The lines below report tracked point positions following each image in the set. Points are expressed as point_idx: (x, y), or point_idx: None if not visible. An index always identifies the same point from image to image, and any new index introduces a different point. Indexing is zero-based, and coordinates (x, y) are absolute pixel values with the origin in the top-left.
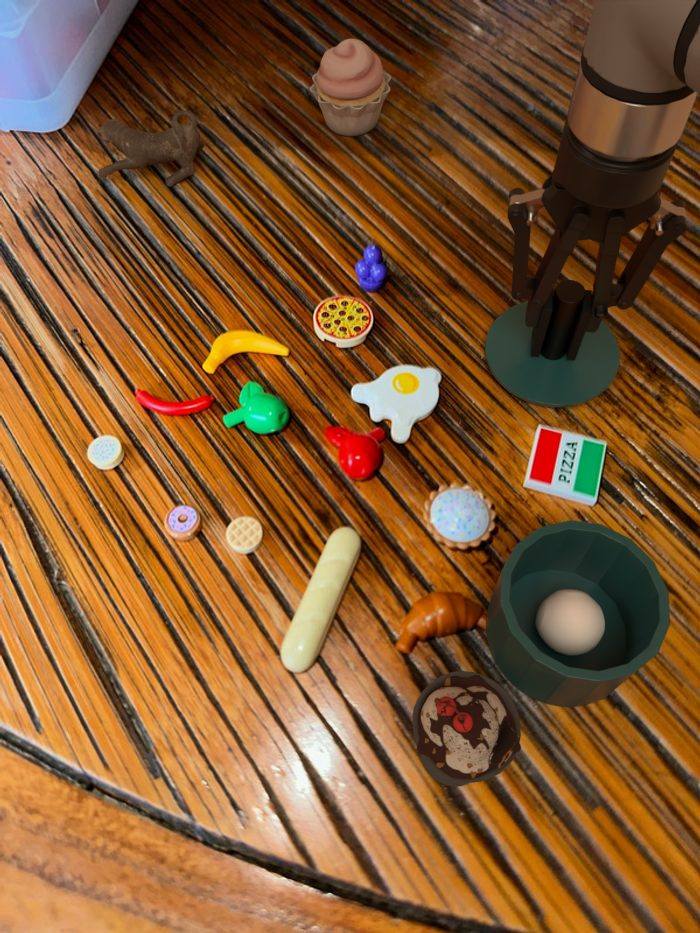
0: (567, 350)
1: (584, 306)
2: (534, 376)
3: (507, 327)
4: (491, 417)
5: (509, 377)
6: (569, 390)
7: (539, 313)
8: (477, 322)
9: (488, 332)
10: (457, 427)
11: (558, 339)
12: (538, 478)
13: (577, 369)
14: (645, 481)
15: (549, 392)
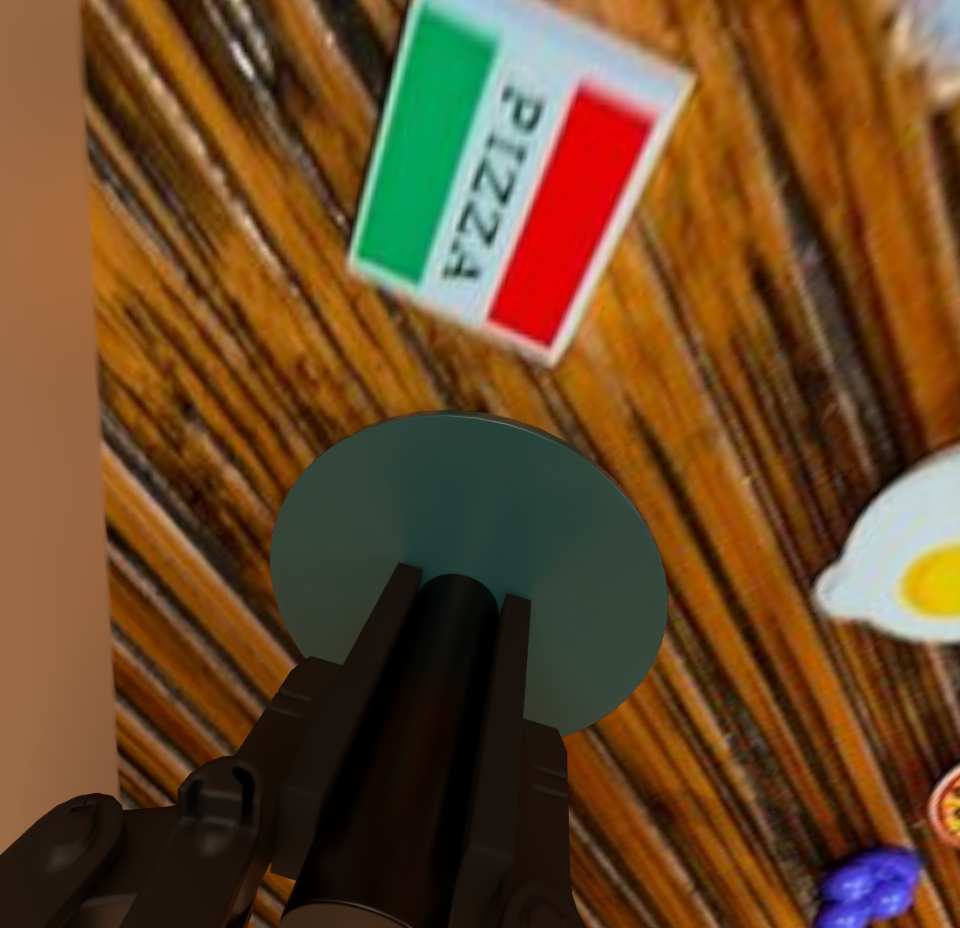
0: (415, 597)
1: (309, 823)
2: (534, 532)
3: (570, 693)
4: (706, 414)
5: (618, 542)
6: (433, 465)
7: (517, 804)
8: (635, 713)
9: (631, 691)
10: (849, 390)
11: (444, 651)
12: (619, 118)
13: (395, 532)
14: (232, 76)
15: (499, 468)
